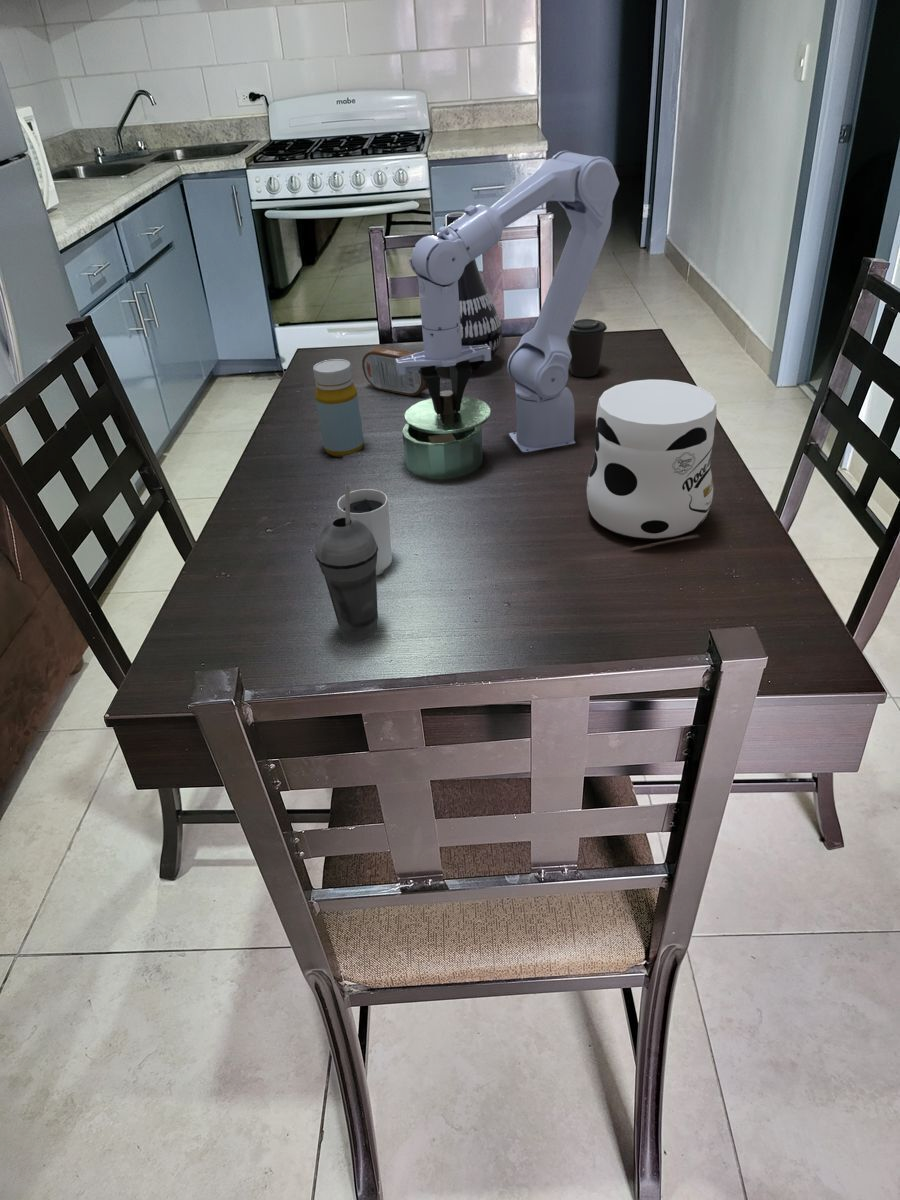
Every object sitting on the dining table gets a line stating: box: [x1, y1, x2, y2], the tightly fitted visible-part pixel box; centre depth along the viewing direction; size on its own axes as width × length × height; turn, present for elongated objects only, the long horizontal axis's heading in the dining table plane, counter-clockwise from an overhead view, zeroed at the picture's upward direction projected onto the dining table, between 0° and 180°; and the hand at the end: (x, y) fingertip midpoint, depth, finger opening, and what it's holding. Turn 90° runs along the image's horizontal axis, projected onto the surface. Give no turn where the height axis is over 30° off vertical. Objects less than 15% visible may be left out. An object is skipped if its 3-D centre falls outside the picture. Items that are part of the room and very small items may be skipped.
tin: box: [361, 345, 428, 397], centre depth 163 cm, size 15×3×8 cm, turn 58°
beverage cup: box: [315, 484, 379, 642], centre depth 97 cm, size 7×7×20 cm
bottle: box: [312, 358, 365, 458], centre depth 141 cm, size 7×7×15 cm
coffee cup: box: [567, 318, 608, 378], centre depth 164 cm, size 8×8×10 cm
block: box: [428, 433, 456, 443], centre depth 137 cm, size 4×4×4 cm
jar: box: [401, 423, 484, 480], centre depth 137 cm, size 13×13×6 cm
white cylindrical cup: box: [336, 488, 393, 576], centre depth 112 cm, size 7×7×10 cm
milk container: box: [586, 379, 717, 542], centre depth 115 cm, size 17×17×18 cm
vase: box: [445, 211, 503, 371], centre depth 166 cm, size 16×16×30 cm
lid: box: [404, 389, 492, 434], centre depth 131 cm, size 14×14×4 cm
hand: (447, 410), depth 132 cm, fingers closed on lid, 2 cm apart
